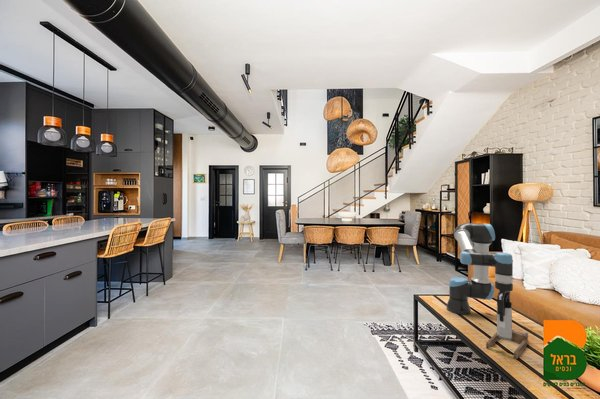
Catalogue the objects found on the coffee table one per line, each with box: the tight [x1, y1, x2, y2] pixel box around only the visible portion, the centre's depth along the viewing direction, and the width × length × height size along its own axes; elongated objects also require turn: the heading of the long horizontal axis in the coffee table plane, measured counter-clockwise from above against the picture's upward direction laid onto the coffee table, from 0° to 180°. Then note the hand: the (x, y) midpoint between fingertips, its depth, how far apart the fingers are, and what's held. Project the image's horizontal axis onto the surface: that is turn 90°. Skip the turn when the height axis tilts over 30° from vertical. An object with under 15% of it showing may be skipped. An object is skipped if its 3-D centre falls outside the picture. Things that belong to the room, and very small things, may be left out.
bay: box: [485, 329, 529, 360], centre depth 144 cm, size 13×27×5 cm, turn 128°
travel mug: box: [496, 299, 513, 341], centre depth 139 cm, size 6×7×20 cm
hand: (504, 325), depth 139 cm, fingers closed on travel mug, 6 cm apart
